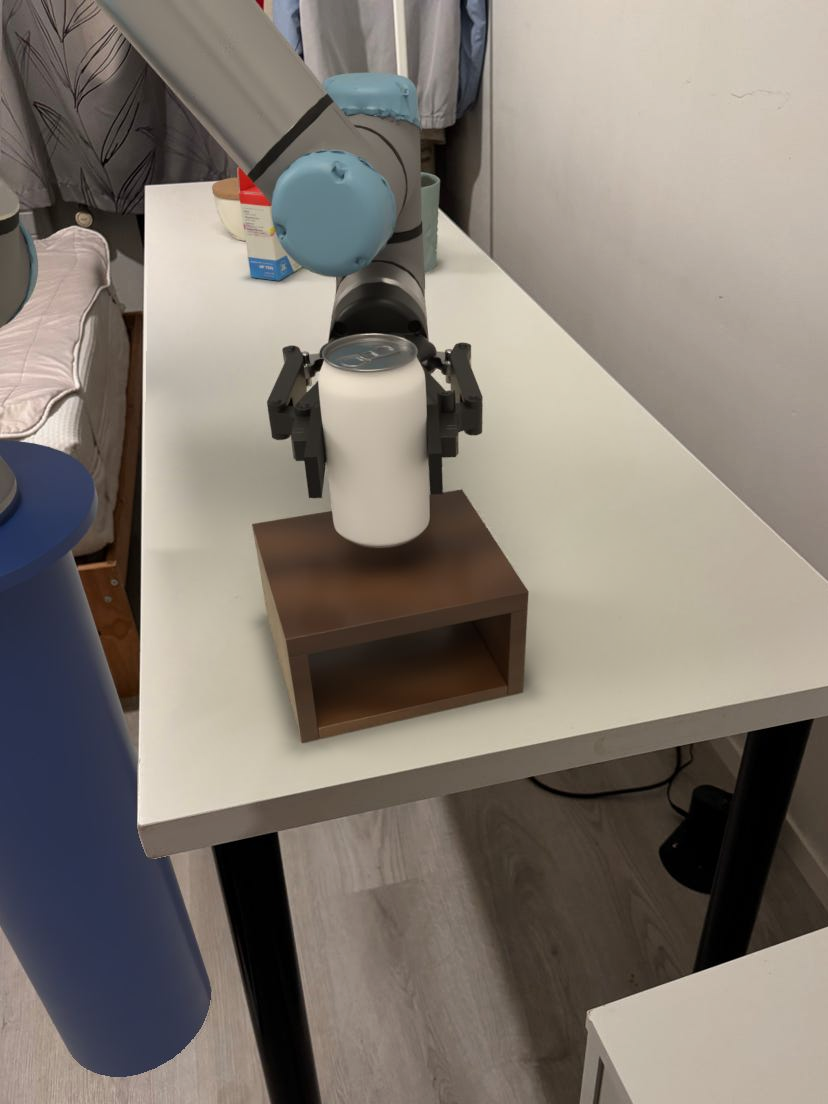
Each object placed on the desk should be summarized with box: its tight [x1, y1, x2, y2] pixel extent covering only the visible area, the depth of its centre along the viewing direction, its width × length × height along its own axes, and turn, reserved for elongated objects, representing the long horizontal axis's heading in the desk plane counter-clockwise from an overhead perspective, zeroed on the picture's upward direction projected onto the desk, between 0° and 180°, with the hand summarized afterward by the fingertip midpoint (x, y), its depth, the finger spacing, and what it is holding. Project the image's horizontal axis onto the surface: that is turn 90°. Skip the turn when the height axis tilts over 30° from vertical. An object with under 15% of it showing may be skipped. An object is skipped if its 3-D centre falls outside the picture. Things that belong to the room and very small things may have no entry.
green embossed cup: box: [421, 171, 441, 273], centre depth 137 cm, size 10×10×12 cm
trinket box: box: [211, 176, 246, 242], centre depth 148 cm, size 11×11×9 cm
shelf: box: [251, 488, 529, 744], centre depth 67 cm, size 14×16×9 cm
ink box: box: [236, 166, 303, 282], centre depth 133 cm, size 8×5×15 cm, turn 160°
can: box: [317, 333, 430, 548], centre depth 58 cm, size 6×6×12 cm
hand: (374, 475), depth 54 cm, fingers closed on can, 6 cm apart
